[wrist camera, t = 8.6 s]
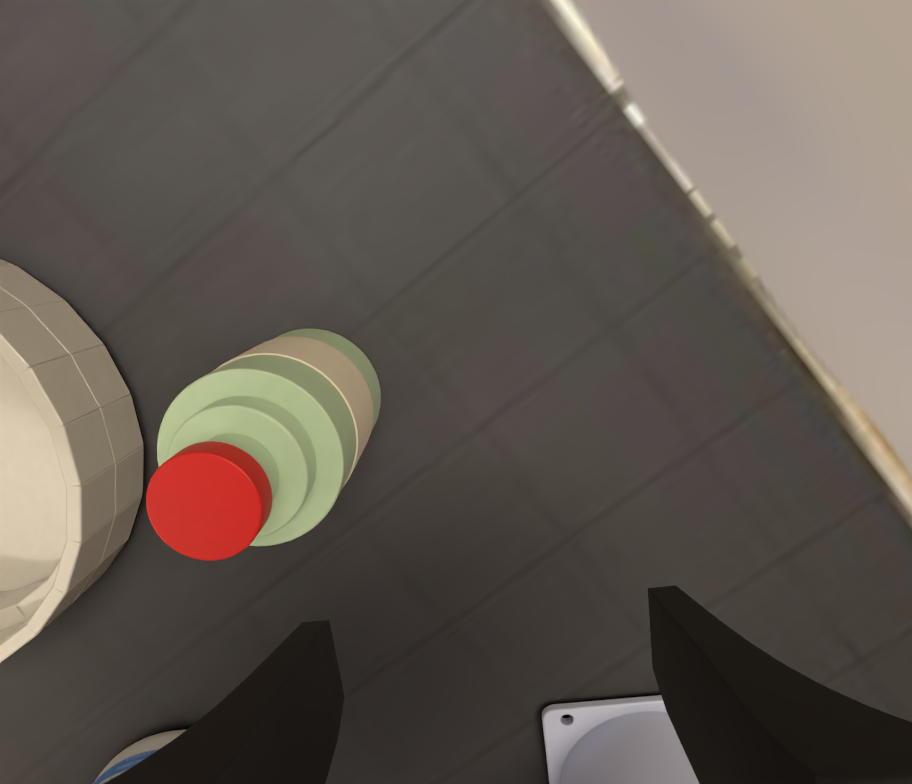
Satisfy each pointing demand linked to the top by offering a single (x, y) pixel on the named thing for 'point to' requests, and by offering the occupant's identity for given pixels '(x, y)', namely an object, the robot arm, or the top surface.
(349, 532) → the top surface
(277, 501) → the bottle
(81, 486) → the pan
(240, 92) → the top surface
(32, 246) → the top surface
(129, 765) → the supplement tub
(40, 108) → the top surface
